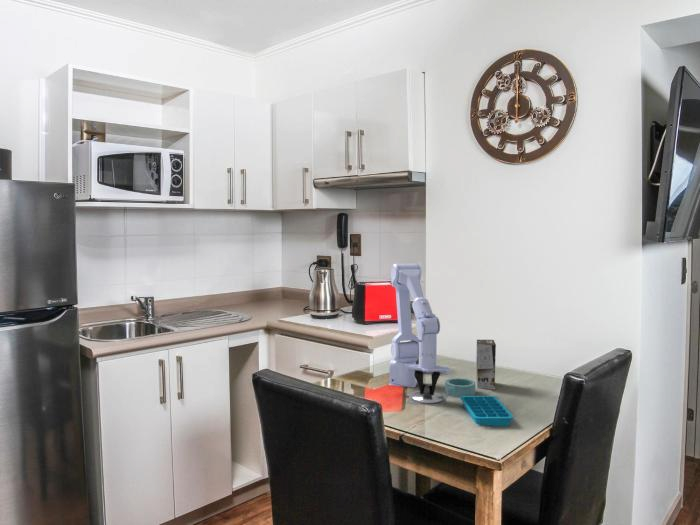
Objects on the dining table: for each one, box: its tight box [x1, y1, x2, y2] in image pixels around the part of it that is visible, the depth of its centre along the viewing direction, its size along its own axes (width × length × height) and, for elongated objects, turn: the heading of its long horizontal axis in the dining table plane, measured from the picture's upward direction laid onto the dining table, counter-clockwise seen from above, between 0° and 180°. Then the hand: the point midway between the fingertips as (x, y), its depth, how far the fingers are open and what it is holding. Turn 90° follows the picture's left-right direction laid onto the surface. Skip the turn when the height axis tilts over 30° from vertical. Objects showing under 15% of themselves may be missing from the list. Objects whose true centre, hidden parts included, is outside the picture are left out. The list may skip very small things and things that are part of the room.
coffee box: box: [475, 339, 497, 390], centre depth 195 cm, size 9×6×16 cm
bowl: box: [444, 377, 476, 398], centre depth 186 cm, size 10×10×4 cm
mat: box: [405, 391, 448, 407], centre depth 179 cm, size 12×12×1 cm
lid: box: [411, 383, 443, 404], centre depth 179 cm, size 10×10×5 cm
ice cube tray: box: [459, 395, 515, 427], centre depth 165 cm, size 12×20×3 cm, turn 1°
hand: (427, 393), depth 179 cm, fingers closed on lid, 3 cm apart
